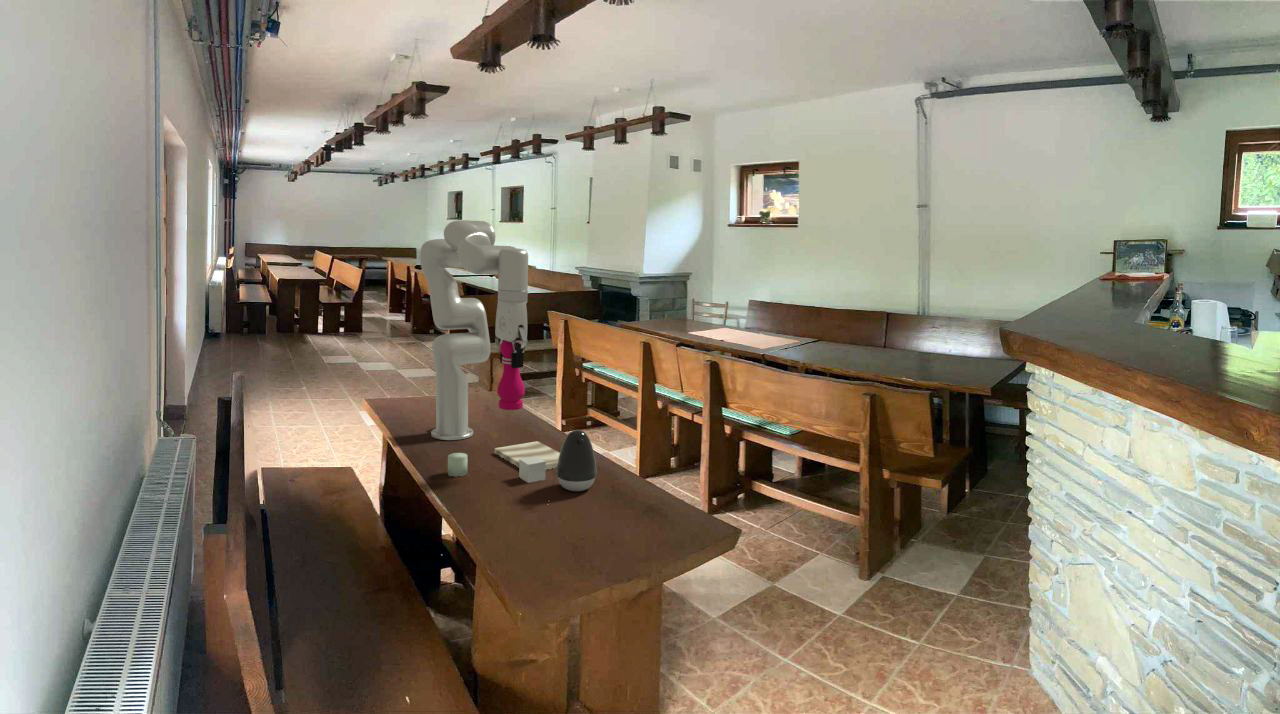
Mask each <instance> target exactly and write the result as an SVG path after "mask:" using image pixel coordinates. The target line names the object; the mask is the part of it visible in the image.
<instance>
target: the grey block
mask: <svg viewBox="0 0 1280 714" xmlns="http://www.w3.org/2000/svg"><path fill="white" fill-rule="evenodd" d="M518 468H519V470H518V471H519V472H518V478H519V477H520V478H519V479H521V480H523V481H524V482H525V483H528V484H530V483H536V482H540V480H541V481H544V480H546V471H547V470H546V461H544V460H542V459H540V458H538V457H537V456H536V457H530V458H524V459H519V467H518Z"/></svg>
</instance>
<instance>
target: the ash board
mask: <svg viewBox="0 0 1280 714" xmlns="http://www.w3.org/2000/svg"><path fill="white" fill-rule="evenodd" d="M559 454H560V452H559V451H557V450H555V449H554V448H552V447H550V446H548V445H546V444H544V443H542V442H540V441H537V440H536V441H531V442H525V443H519V444H512V445H507V446H502V447H500V446H499V447H495V448H494V455H496V456H498V455H499V457H500V458H502V459H503V458H504V460H505V461H507V462H508V461H509V463H510V464H512V465H513V464H514V465H513V466H515V465H516V466H515V467H517V468H519V459H524V458H530V457H536V456H537V457H538V458H540V459H542V460H544V461H546V471H547V469H548V470H552V468H553V469H557V468H556V467H557V463H558V458H559Z"/></svg>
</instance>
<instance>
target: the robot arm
mask: <svg viewBox="0 0 1280 714" xmlns="http://www.w3.org/2000/svg"><path fill="white" fill-rule="evenodd" d="M495 242H496V231H495V228H494V227H493V226H492V225H491V224H490V223H489V222H487V221H485V220H467V219H466V220H463V219H462V220H461V219H460V220H453V221H450V222H449V223H448V224H446V226H445V227H444V230H443V238H438V239H437V238H436V239H435V238H434V239H429V240H427V241H424V243H423V244H422V245H421V247H420V251H419V261H420V267H421V270H422V273H423V275H424V277H425V280H426V282H427V286H428V291H429V298H430V305H431V311H432V312H431V313H432V318H433V323H434V326H435V327H436V328H438V329H440V330H445V331H449V330H468V332H458V333H457V332H456V333H455V332H453V333H445V334H440V335H439V336H437V337H435V339H434V340H433V342H432V344H431V349H432V356H433V362H434V369H435V406H436V407H435V413H436V415H435V417H436V419H435V420H436V421H435V423H436V426H435V427H436V428H433V429H432V430H431V431H430V433H431V434H430V435H431V437H432V438H433V439H436V440H442V441H458V440H464V439H469V438H470V437H472V436H473V435H474V430H473V429H472V428H471V427H469V380H468V379H469V378H468V376H467V375H466V373H465V372H464V370H463V369H462V368H461V365H468V364H480V363H483V362H487V361H488V359H489V358H490V356H491V340H490V333H489V326H488V319H487V312H486V309H485V306H484V304H483V303H482V301H481V300H479V299H478V298H475V297H461V296H460V293H459V286H458V282H457V281H456V279H455V278H454V276H453V275H452V273H451V272H449V271H448V270H447V269H446V268H463V269H464V270H467V271H468V272H469V273H471V274H474V275H498V276H497V279H498V281H497V306H496V315H495V330H494V331H495V333H494V334H495V337H496V338H497V339H498V341H499V347H500V346H501V344H502V342H503V341H504V340H505V341H507V342H512V348H513V353H511V367H512V368H519V369H520V368H523V367H524V354H525V349H526V346H527V344H528V310H527V303H528V295H529V293H528V291H529V289H528V284H529V280H528V279H529V253H528V251H527V250H526V249H524V248H517V247H515V246H511V245H495ZM515 339H517V340H516V341H515ZM516 343H520V344H518V345H517V347H516ZM502 357H503V355H502V353H501V351H499V363H501V364H503V363H502Z"/></svg>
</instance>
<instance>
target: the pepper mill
mask: <svg viewBox="0 0 1280 714" xmlns="http://www.w3.org/2000/svg"><path fill="white" fill-rule="evenodd" d="M516 340H518V339H515V341H516ZM518 344H520V343H516V347H517V345H518ZM499 348H500V349H499V350H500V351H501V353H502V355H503V357H502V363H501V364H503V372H502V376H501V378H500V380H499V382H498V385H497V387H496V388H497V390H496V391H497V392H496V394H497V395H498V397H499V400H498V407H499V409H501V410H505V411H516V410H517V411H518V410H521V409H523V406H524V400H522V398H523V397H524V395H525V392H526V390H525V384H524V382H523V379H522V377H521V372H520V368H512V367H511V353H513V348H512V342H507V341H505V340H504V341H503V342H502V344H501V346H500V345H499ZM500 351H499V352H500Z"/></svg>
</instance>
